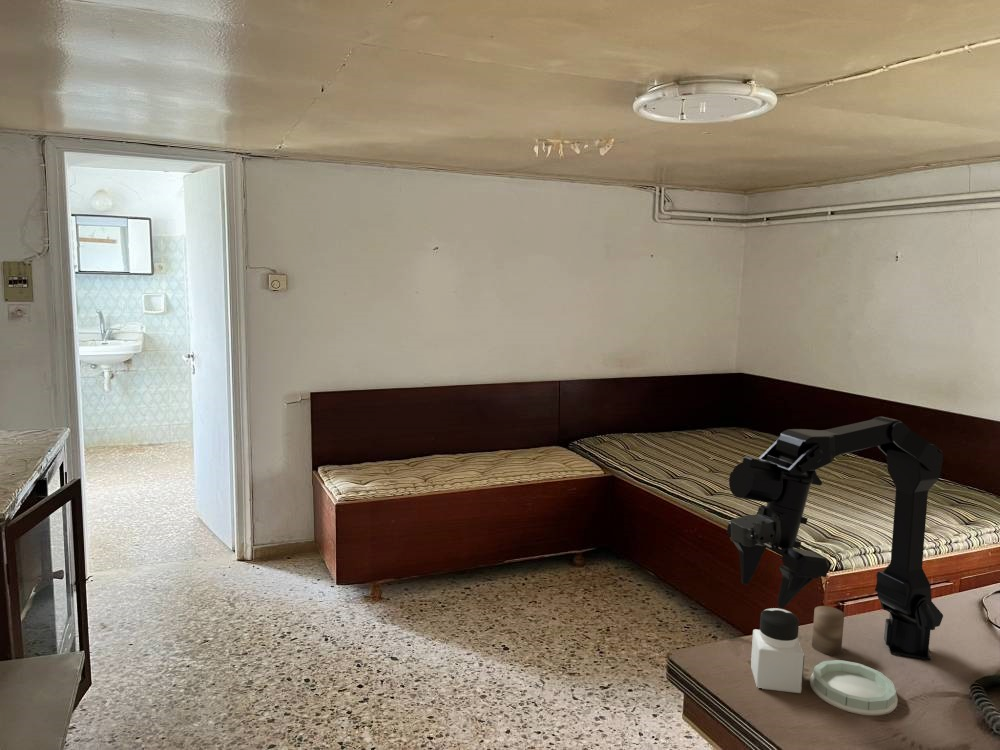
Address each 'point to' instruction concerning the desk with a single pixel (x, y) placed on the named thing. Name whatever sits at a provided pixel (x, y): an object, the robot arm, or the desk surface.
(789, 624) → the medicine bottle
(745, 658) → the desk surface
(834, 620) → the brown domed cylinder
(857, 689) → the ring dish
